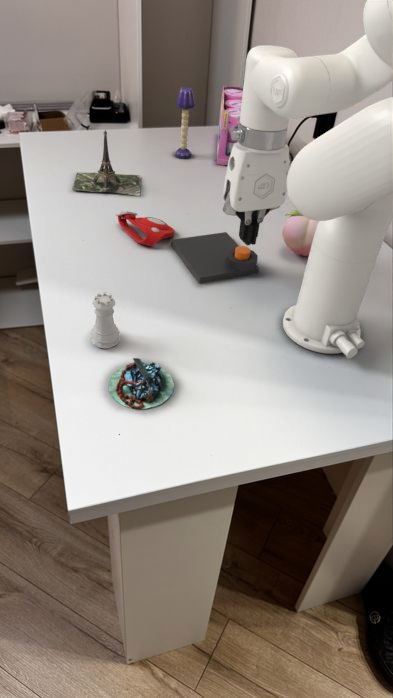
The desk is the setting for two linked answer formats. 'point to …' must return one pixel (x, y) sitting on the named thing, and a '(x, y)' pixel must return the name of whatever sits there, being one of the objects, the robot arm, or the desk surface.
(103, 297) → the rook chess piece
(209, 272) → the scale
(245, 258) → the button
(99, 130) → the desk surface
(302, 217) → the decorative fruit
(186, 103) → the toy lamp
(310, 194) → the robot arm
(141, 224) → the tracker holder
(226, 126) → the gum box
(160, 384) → the dish
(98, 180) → the eiffel tower figurine
